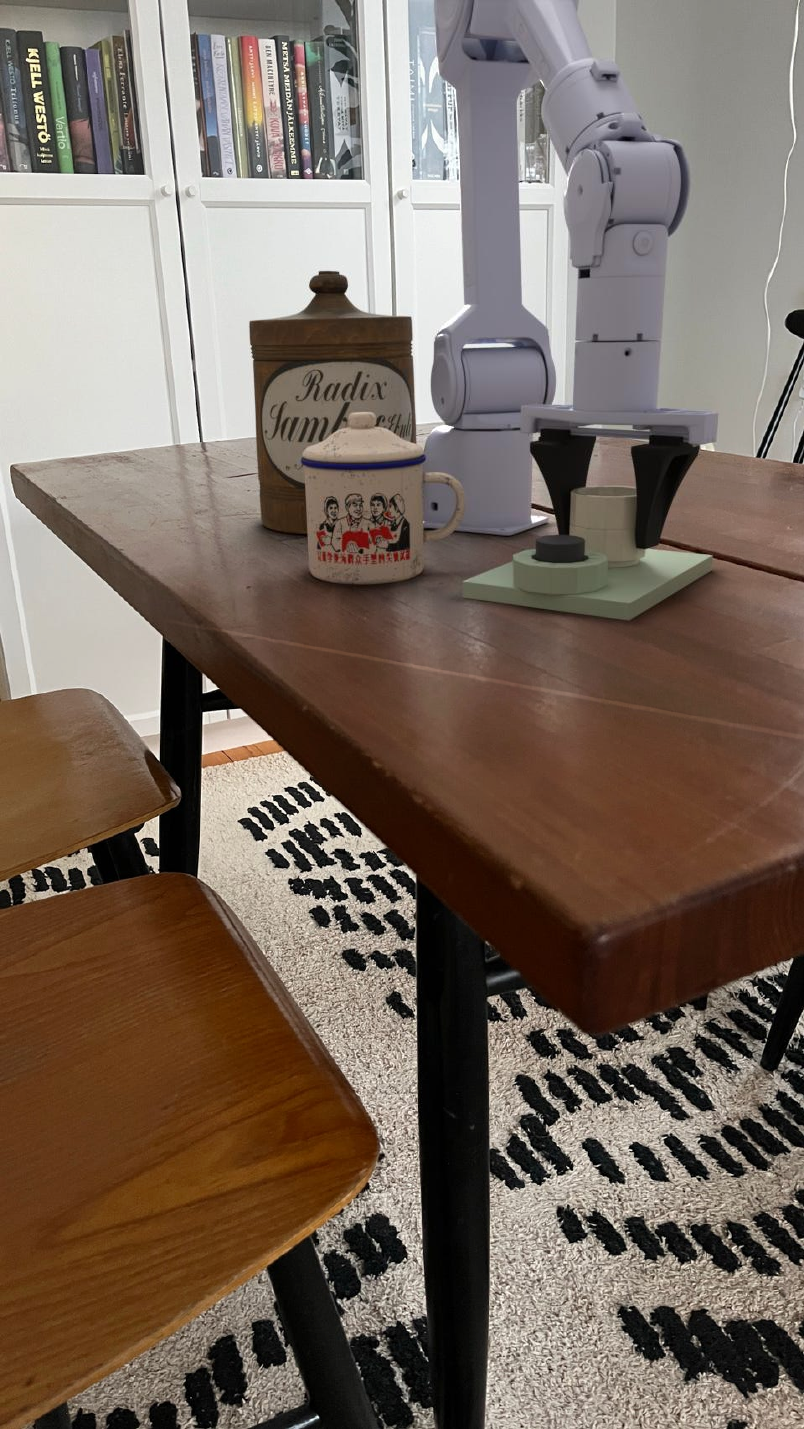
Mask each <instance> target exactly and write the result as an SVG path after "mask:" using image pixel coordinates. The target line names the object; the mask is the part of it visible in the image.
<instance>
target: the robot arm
mask: <svg viewBox="0 0 804 1429" xmlns="http://www.w3.org/2000/svg"><path fill="white" fill-rule="evenodd" d="M579 3H580V0H433V15H434V16H433V17H434V18H433V19H434V41H435V42H434V44H435V56H436V59H437V73H438V76H439V77H441V78H442V79H443V80H444V81H445V82H446V83H448V84H449V85H450V86H451V87H452V88H453V89H454V97H455V98H454V99H455V112H456V130H457V132H456V133H457V157H458V175H459V176H458V180H459V181H458V183H459V205H460V232H461V235H460V236H461V255H462V256H461V257H462V258H461V259H462V262H461V263H462V284H463V286H462V287H463V307H462V308H461V310H460V311H459V312H457V313H456V314H455V315H454V316H452V318H451V319H450V320H449V321H447V322H446V323H445V324H444V325H443V326H442V327H441V328H440V329H439V331H438V332H437V333H436V335H435V337H434V341H433V360H432V366H431V372H430V395H431V401H432V406H433V408H434V411H435V412H436V414H437V415H438V417H439V418H440V420H441V421H442V422H443V423H444V425H440V426H436V427H434V429H432V430H431V431H430V433H429V434H428V436H427V438H426V441H425V444H424V447H423V451H424V455H425V456H426V460H425V461H424V462H423V473H431V472H439V473H445V474H448V475H451V476H452V477H454V478H455V479H456V480H457V481H458V482H459V483H460V484H461V485H462V487H463V489H464V492H465V496H466V506H465V511H464V515H463V517H462V520H461V522H460V524H459V525H458V527H457V528H456V529H455V530H454V531H455V532H464V533H465V532H466V533H474V534H475V533H476V534H485V535H493V536H495V535H496V536H506V537H507V536H508V537H509V536H513V535H516V534H519V533H522V532H524V531H527V530H530V529H533V528H535V527H538V526H541V525H544V524H547V523H549V522H550V520H549V517H548V516H543V515H542V516H541V515H532V496H533V495H532V492H533V490H532V489H533V487H532V486H533V459H534V461H535V463H536V465H537V467H538V470H539V472H540V473H541V476H542V479H543V481H544V483H545V486H546V488H547V491H548V494H549V497H550V502H551V506H552V509H553V514H554V518H555V523H556V528H557V533H558V534H557V535H570V508H571V491H572V490H573V489H576V488H581V487H587V480H588V474H589V469H590V465H591V461H592V455H593V452H594V448H595V444H596V441H597V437H601V438H615V439H628V440H629V439H631V440H645V441H648V443H642V444H636V445H632V446H630V455H631V460H632V465H633V471H634V480H635V487H636V494H637V508H636V524H635V543H636V548H638V549H652V548H655V547H657V546H659V545H660V541H661V538H662V533H663V530H664V527H665V523H666V520H667V517H668V515H669V512H670V509H671V507H672V504H673V501H674V499H675V497H676V495H677V492H678V490H679V488H680V486H681V485H682V482H683V480H684V478H685V477H686V475H687V473H688V472H689V470H690V468H691V467H692V465H693V463H694V462H695V460H696V459H697V457H698V456H699V453H700V446H703V445H706V444H707V445H708V444H712V443H713V444H714V443H716V442H717V435H718V426H719V425H718V424H719V411H705V410H704V411H703V410H693V409H681V408H680V409H679V408H671V407H659V406H658V397H659V381H660V366H661V365H660V364H661V351H662V350H661V349H662V334H663V319H664V305H665V304H664V303H665V302H664V301H665V287H666V272H667V259H668V258H667V257H668V241H669V237H671V236H672V235H673V234H674V233H675V232H676V231H677V230H678V228H679V227H680V225H681V223H682V221H683V219H684V216H685V214H686V211H687V208H688V204H689V199H690V192H691V171H690V164H689V160H688V157H687V155H686V152H685V148H684V145H683V144H682V143H681V142H680V141H679V140H677V139H674V138H663V137H662V135H661V134H659V133H658V134H655V133H653V134H652V133H651V132H650V130H649V128H648V126H647V124H646V123H645V120H644V118H643V116H642V115H641V113H640V111H639V109H638V107H637V105H636V102H635V101H634V99H633V97H632V95H631V93H630V91H629V89H628V87H627V85H626V83H625V81H624V79H623V78H622V76H621V71H620V69H619V67H618V65H617V63H616V61H614V60H606V59H603V58H599V57H593V54H592V51H591V48H590V46H589V43H588V40H587V37H586V34H585V31H584V28H583V25H582V23H581V20H580V18H579V15H578V7H579ZM539 82H541V84H542V86H543V87H544V89H545V92H544V95H543V96H542V97H543V98H542V102H541V106H540V107H541V108H540V114H541V120H542V123H543V127H544V128H545V130H546V133H547V135H548V137H549V139H550V142H551V143H552V146H553V147H554V150H555V153H556V155H557V157H558V159H559V162H560V163H561V165H562V169H563V170H564V173H565V175H566V178H567V179H566V186H565V192H564V193H563V215H564V221H565V224H566V227H567V231H568V234H569V241H570V243H569V244H570V248H569V259H570V260H571V266H572V267H573V268H575V269H577V282H576V283H577V284H576V310H575V311H576V312H575V315H576V316H575V335H574V336H575V337H574V338H575V339H574V359H573V360H574V362H573V386H572V387H573V389H572V390H573V392H572V404H553V402H554V400H555V396H556V391H557V372H556V371H557V370H556V366H555V362H554V359H553V357H552V352H551V344H550V335H549V329H548V327H547V326H546V325H545V324H544V323H543V322H542V321H541V320H540V319H538V318H537V317H536V316H535V315H534V314H533V313H532V312H530V311H529V310H528V309H527V308H526V307H525V305H524V304H523V295H522V294H523V292H522V290H523V288H522V287H523V286H522V256H521V255H522V253H521V252H522V250H521V216H520V215H521V214H520V182H519V180H520V178H519V177H520V176H519V137H518V99H519V96H520V94H521V92H522V91H525V90H526V89H528V88H530V87H531V86H534V85H535V84H537V83H539ZM486 344H487V345H489V344H491V345H492V344H506V345H511V346H493V347H491V346H490V347H487V346H486V347H465V346H466V345H486ZM594 425H597V426H599V425H600V426H632V427H631V428H632V430H631V429H617V428H615V429H614V428H600V427H598V428H597V427H596V428H595V427H587V426H594ZM536 433H538V434H539V436H538V440H534V434H536ZM456 503H457V497H456V493H455V491H454V490H453V489H452V488H451V487H450V486H448V485H447V484H444V483H423V528H424V529H434V530H437V529H440V528H442V527H443V526H445V525H446V524H447V523H448V522H449V521H450V519H451V518H452V516H453V514H454V511H455V508H456ZM454 531H453V532H454Z"/></svg>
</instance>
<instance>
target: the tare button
mask: <svg viewBox="0 0 804 1429" xmlns="http://www.w3.org/2000/svg"><path fill="white" fill-rule="evenodd" d="M535 549H536V557H535V560H537V561H540V562H548V563H575V562H582V561H584V556H585V539H584V538H582V537H578V536H572V535H559V534H549V535H542V536H539V537H537V538H536V539H535Z"/></svg>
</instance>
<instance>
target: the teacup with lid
mask: <svg viewBox="0 0 804 1429" xmlns="http://www.w3.org/2000/svg"><path fill="white" fill-rule="evenodd" d="M348 423H349V425H350V427H348V428H343V429H340V430H338V431H336V432H334V433H333V434H332V435H330V436H329V437H328V438H327V439H325V440H324V441H322V442H320V443H318V444H315V445H312V446H309V447H307V448H306V449H305V450H304V452H303V454H302V456H303V457H302V458H301V463H302V464H303V465H304V469H305V489H306V510H307V530H308V535H307V547H308V548H307V549H308V550H307V551H308V566H309V567H308V569H309V572H310V574H311V575H312V576H313V577H314V578H316V579H318V580H321V581H323V582H328V583H333V584H341V585H358V586H359V585H361V586H363V585H366V586H367V585H383V584H390V583H392V584H393V583H397V582H403V581H406V580H410V579H413V578H415V577H417V576H418V575H420V574H422V572H423V571H424V566H425V562H424V560H425V558H424V554H425V550H424V549H425V548H424V543H426V542H427V543H428V542H435V541H440V540H443V539H445V538H447V537H448V536H450V535H451V534H452V533H453V532H454V530H455V529H456V528H457V527H458V525H459V524H460V522H461V520H462V517H463V515H464V511H465V506H466V496H465V492H464V489H463V487H462V485H461V484H460V483H459V482H458V481H457V480H456V479H455V478H454V477H452V476H451V475H448V474H445V473H439V472H431V473H423V462H424V461H425V460H426V456H425V455H424V448H423V447H422V446H421V445H420V444H418V443H417V444H414V443H411V442H408V441H405V440H403V439H401V438H400V437H398V436H397V435H396V434H394V433H393V432H391V431H390V430H388V429H385V428H381V427H374V426H375V425H376V416H375V414H374V413H372V412H355V413H351V414H350V415H349V417H348ZM423 483H444V484H447V485H448V486H450V487H451V488H452V489H453V490H454V491H455V493H456V497H457V503H456V508H455V511H454V514H453V516H452V518H451V519H450V521H449V522H448V523H447V524H446V525H445V526H443V527H442V528H440V529H432V530H424V527H423Z"/></svg>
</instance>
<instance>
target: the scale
mask: <svg viewBox="0 0 804 1429" xmlns="http://www.w3.org/2000/svg"><path fill="white" fill-rule="evenodd" d="M535 557H536V548H533V549H525V550H522V551H519V552H517V553H514V554H513V555H512V561H509V562H507V563H505V564H502V565H500V566H497V567H494V568H492V569H490V570H487V571H485V572H482V573H480V574H476V575H474V576H472V577H469V578H466V579H464V580H462V581H461V582H462V589H461V590H462V594H461V598H463V599H470V600H477V601H485V602H493V603H499V604H507V605H514V606H521V607H528V608H529V607H530V608H536V609H544V610H551V611H557V612H565V613H572V614H578V615H579V614H580V615H586V616H593V617H601V618H609V619H614V620H615V619H616V620H620V621H621V620H623V621H631V620H632V619H634V618H636V617H637V616H639V615H641V614H642V613H644V612H646V611H647V610H649V609H651V608H652V607H654V606H655V605H657V604H659V603H660V602H662V601H663V600H665V599H667V598H668V597H670V596H672V595H673V594H675V593H676V592H679V591H681V590H682V589H684V588H685V587H687V586H688V585H690V584H691V583H693V582H695V581H697V580H698V579H700V578H701V577H703V576H705V575H707V574H708V573H711V571H712V570H713V558H714V556H713V554H712V555H711V554H704V553H696V552H695V553H693V552H685V551H674V550H666V549H665V550H664V549H656V548H655V549H654V548H648V549H646V554H645V557H643V558H640V562H639V563H638V564H636V565H633V566H628V567H619V568H608V559H607V557H606V556H605V554H602V553H599V552H595V551H592V550H586V549H585V556H584V561H582V562H575V563H548V562H540V561H537V560H535Z"/></svg>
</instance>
